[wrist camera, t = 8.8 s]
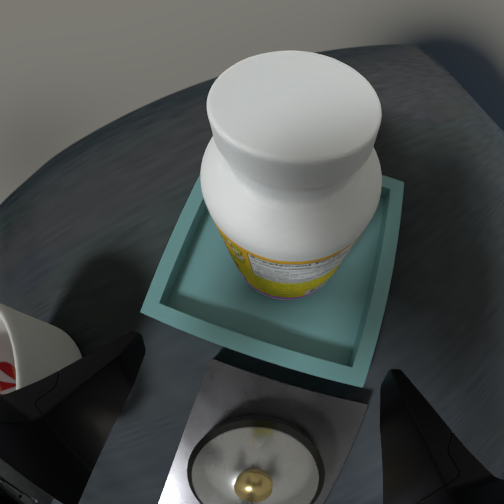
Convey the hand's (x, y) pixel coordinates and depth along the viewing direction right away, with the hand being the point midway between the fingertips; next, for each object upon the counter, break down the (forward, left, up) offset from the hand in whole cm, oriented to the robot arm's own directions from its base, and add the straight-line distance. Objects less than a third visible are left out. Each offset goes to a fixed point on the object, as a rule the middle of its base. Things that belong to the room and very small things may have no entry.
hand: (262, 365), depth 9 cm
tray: (+7, +1, -8) cm, 11 cm away
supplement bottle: (+7, +1, -8) cm, 10 cm away
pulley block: (-7, -2, -8) cm, 11 cm away
